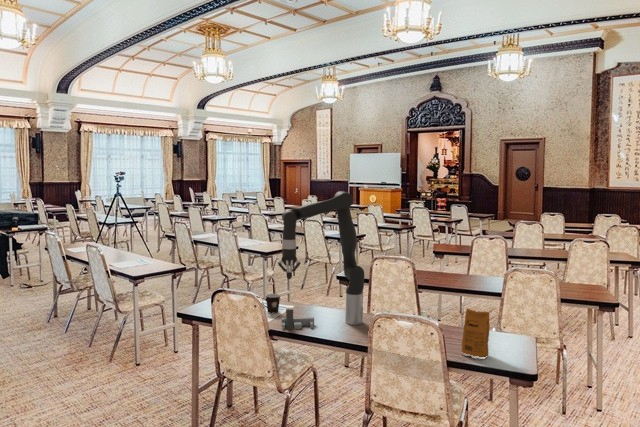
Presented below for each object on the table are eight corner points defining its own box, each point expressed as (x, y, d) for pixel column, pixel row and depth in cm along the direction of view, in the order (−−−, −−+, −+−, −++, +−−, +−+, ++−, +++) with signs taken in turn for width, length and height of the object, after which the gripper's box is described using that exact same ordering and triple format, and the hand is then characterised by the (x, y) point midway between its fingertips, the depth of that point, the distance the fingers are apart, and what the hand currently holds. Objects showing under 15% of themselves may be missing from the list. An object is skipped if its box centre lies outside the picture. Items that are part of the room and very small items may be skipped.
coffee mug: (281, 309, 299) (281, 294, 298) (278, 314, 291) (278, 297, 290) (262, 309, 300) (262, 293, 299) (259, 313, 292) (259, 296, 291)
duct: (313, 324, 273) (313, 316, 272) (315, 328, 266) (315, 320, 265) (281, 325, 270) (281, 317, 270) (282, 329, 263) (282, 321, 263)
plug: (292, 327, 267) (292, 305, 266) (293, 329, 264) (293, 307, 263) (285, 327, 267) (286, 305, 266) (286, 329, 263) (286, 307, 262)
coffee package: (465, 349, 237) (466, 305, 235) (491, 355, 230) (493, 309, 228) (458, 355, 229) (459, 310, 227) (484, 361, 222) (486, 315, 220)
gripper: (277, 248, 258) (277, 280, 260) (302, 248, 260) (302, 280, 262) (276, 246, 265) (276, 277, 267) (300, 246, 267) (300, 276, 269)
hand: (289, 278), depth 264 cm, fingers closed
